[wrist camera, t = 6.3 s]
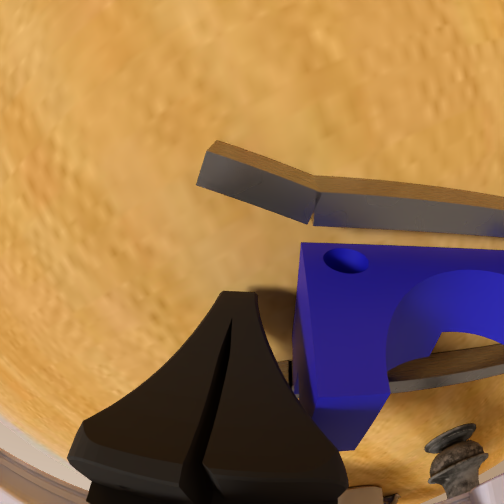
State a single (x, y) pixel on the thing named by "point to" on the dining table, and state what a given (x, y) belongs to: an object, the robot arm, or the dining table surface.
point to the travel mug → (362, 495)
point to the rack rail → (366, 216)
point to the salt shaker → (456, 460)
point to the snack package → (391, 499)
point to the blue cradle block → (381, 322)
